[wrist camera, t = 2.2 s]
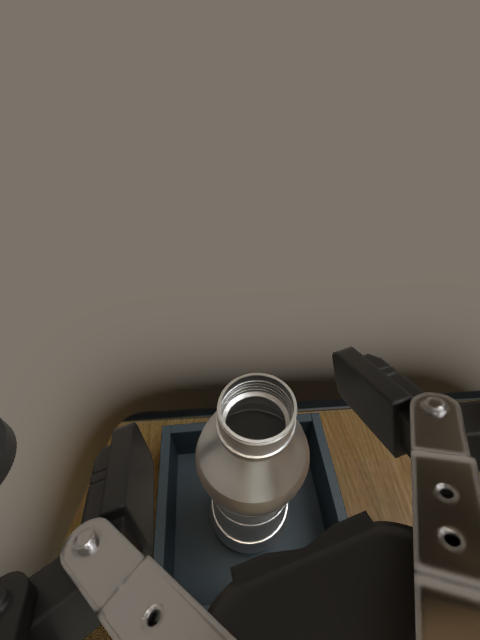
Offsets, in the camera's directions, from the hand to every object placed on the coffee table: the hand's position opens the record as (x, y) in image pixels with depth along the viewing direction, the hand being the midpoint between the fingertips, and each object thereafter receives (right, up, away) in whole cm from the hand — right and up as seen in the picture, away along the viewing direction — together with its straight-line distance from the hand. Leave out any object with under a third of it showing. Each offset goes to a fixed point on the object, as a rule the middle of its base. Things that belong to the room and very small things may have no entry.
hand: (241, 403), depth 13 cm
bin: (+1, -15, +17) cm, 23 cm away
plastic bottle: (+1, -14, +17) cm, 22 cm away
